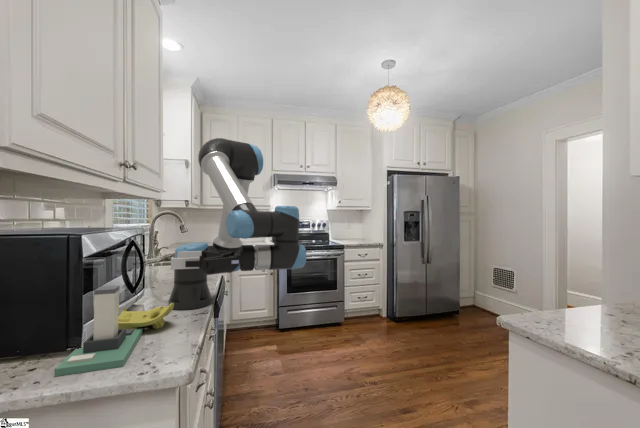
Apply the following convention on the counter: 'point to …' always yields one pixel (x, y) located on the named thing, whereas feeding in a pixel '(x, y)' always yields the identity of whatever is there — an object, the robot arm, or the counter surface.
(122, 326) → the plastic component
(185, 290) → the robot arm
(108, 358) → the board
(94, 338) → the plug
